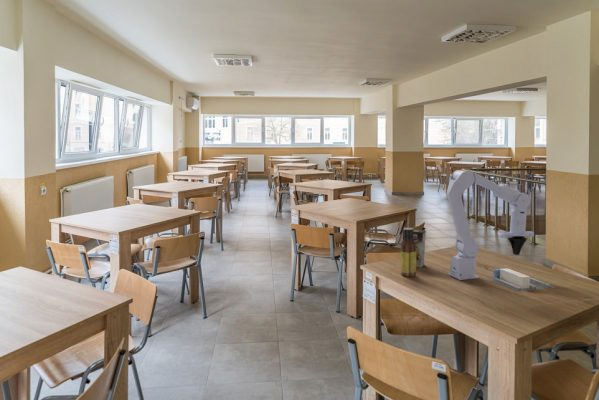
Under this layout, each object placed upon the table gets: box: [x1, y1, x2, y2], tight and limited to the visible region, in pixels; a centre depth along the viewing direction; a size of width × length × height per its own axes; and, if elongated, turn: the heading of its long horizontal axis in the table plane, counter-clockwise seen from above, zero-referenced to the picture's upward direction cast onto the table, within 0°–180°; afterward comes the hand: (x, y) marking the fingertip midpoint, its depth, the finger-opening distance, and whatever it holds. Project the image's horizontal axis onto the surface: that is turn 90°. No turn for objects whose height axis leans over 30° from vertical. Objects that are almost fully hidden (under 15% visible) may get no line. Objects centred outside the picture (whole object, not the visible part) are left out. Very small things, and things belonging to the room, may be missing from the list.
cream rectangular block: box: [499, 267, 531, 289], centre depth 177 cm, size 4×12×4 cm, turn 15°
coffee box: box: [402, 228, 427, 268], centre depth 205 cm, size 9×6×16 cm
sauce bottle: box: [400, 227, 417, 277], centre depth 189 cm, size 7×6×20 cm
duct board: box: [488, 267, 557, 292], centre depth 178 cm, size 18×16×4 cm
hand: (516, 254), depth 187 cm, fingers closed
